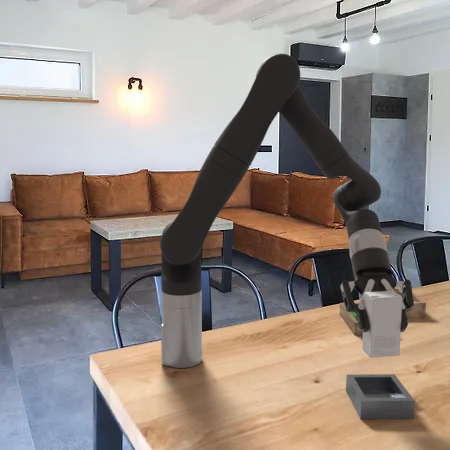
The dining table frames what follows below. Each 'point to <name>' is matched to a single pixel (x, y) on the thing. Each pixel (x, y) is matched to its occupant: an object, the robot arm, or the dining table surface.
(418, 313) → the figurine corral
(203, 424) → the dining table surface
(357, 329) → the tray
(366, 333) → the skincare box
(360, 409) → the keeper tray
